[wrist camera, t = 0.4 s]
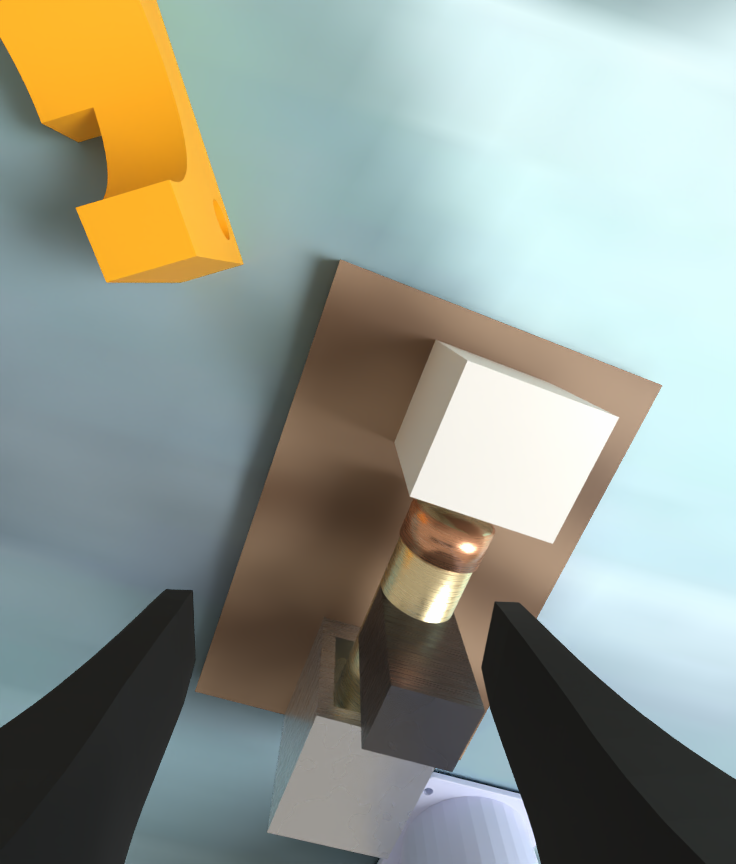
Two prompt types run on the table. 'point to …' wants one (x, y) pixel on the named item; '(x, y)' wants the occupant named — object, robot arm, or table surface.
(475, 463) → the white square block
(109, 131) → the yellow u-shaped block
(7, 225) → the table surface
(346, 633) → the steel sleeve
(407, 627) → the block with brass knob
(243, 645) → the walnut board
